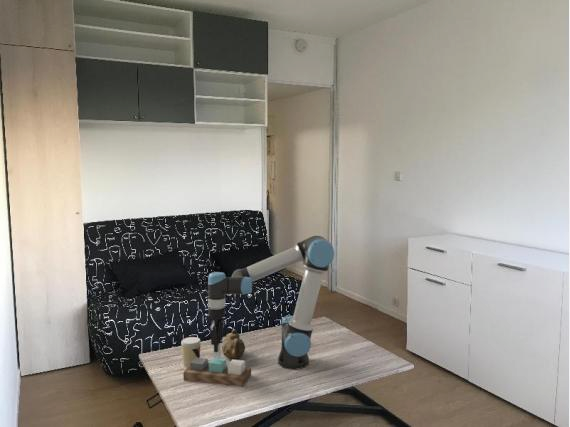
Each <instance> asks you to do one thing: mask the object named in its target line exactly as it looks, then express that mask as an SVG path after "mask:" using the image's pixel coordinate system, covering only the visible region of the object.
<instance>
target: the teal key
mask: <svg viewBox="0 0 570 427" xmlns="http://www.w3.org/2000/svg"><path fill="white" fill-rule="evenodd" d="M208 363H209V372H216V373H222V372H223V371H224V370H225V369H226V364H227V358H220V359H216V358H214V357H213V358H212V359H211V360H210V361H208Z"/></svg>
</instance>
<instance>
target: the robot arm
mask: <svg viewBox="0 0 570 427" xmlns="http://www.w3.org/2000/svg"><path fill="white" fill-rule="evenodd" d="M334 249H335V248H334V246H333V245H332V244H331V242H330V241H329V240H327V239H326V238H325V237H324V236H321V235H313V236H310V237H307V238H305V239H303V240H300V241H298V242H297V243H295V245H294V246H293V247H290V248H288V249H286V250H283V251H282V252H279V253H276V254H275V255H272V256H269V257H267V258H265V259H262V260H260V261H257V262H256V263H254V264H251V265H249V266H247V267H244V268H238V269H236V270H234V271H233V273H232V275H231V277H229V276H226V274H225V272H224V271H223V272H222V271H221V272H220V271H214V272H211V273H209V274H208V278H207V279H208V281H207V290H208V292H207V294H208V297H207V298H208V299H207V302H208V309H207V310H208V316H209V317H210V318H211V320H210V321H211V322H210V324H211V325H210V326H208V327H209V328H208V329H209V333H210V335H209V336H210V343H211V345H212V346H213V358H216V359H220V358H221V357H222V356H221V344H223V343H224V341H223V336H224V325H225V324H224V323H225V318H224V317H225V315H226V295H248V294H251V293H252V292H253V282H255V281H258V280H260V279H262V278H264V277H267V276H270V275H272V274H274V273H276V272H279V271H281V270H284V269H286V268H288V267H290V266H293V265H296V264H298V263H299V262H302V265H303V267H304V272H303V277H302V279H301V280H302V281H301V284H300V285H301V286H300V287H299V293H298V297H297V300H296V303H295V304H296V305H295V308H294V311H293V315H287V316H284V317H282V318H281V322H280V323H281V349H280V352H279V355H278V357H277V364H278V366H280V367H281V366H282V368H284V369H287V368H289V369H288V370H297V369H296V368H300V369H302V368H301V367H304V368H306V367H307V366H308V365H309V364H310V358H309V355H308V353H309V352H310V351H311V347H312V342H311V338H312V335H313V330H314V327H313V325H312V320H313V318H314V313H315V309H316V305H317V300H318V298H319V293H320V289H321V286H322V281H323V279H324V278H323V277H324V274H325V273H327V272H329V269H330V265H331V264H332V262H333V260H334V258H335V250H334ZM308 363H309V364H308ZM306 365H307V366H306ZM305 366H306V367H305ZM290 368H291V369H290Z"/></svg>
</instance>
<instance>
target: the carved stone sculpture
mask: <svg viewBox="0 0 570 427" xmlns="http://www.w3.org/2000/svg"><path fill="white" fill-rule="evenodd" d="M240 337H241V336H240V334H239V333H238V331H237V329H235V328H233V329H232V330H231V332H230V333H227V334H226V335H225V337H224V338H225V339H224V341H223V342H222V346H221V349H222V350H221V351H222V354H223V355H224V357H226V359H227V358H228V359H230V360H232V359H233V360H240V358H241V357H242V356H243V355H244V354H245V351H246V345H245V342H244V341H243V340H242V338H240Z"/></svg>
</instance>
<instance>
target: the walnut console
mask: <svg viewBox="0 0 570 427" xmlns="http://www.w3.org/2000/svg"><path fill="white" fill-rule="evenodd" d="M228 364H229V363H228ZM228 364H227V363H226V369H225V370H224V371H223V372H222V373H216V372H209V362H208V366H207V368H206V369H205V370H204V371H198V370H190V366H189V367H186V369H184V371H183V381H185V382H187V381H188V382H195V383H204V384H213V385H220V386H231V387H239V388H243V387H244V386H245V385H246V383H247V382H248V381H249V379H250V378H251V377H252V366H247V365H245V371H244V372H243V373H242V375H235V374H228Z"/></svg>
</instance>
